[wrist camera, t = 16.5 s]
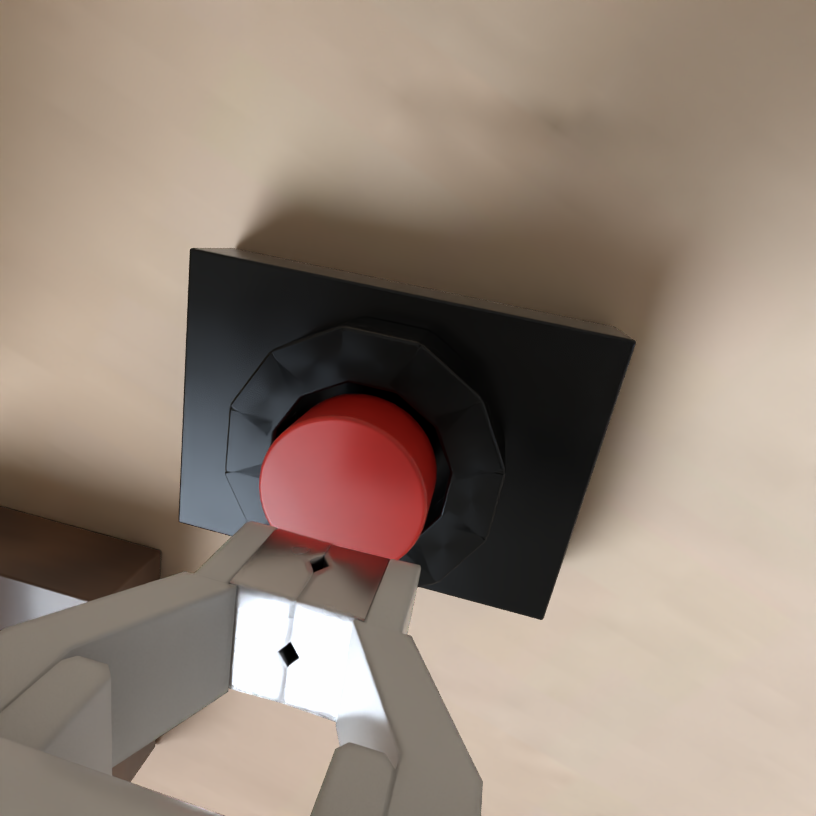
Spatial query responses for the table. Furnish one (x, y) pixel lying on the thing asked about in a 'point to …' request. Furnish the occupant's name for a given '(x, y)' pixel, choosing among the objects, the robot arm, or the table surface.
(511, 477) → the black button box
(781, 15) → the table surface
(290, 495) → the set button
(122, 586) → the lock plate
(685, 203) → the table surface
